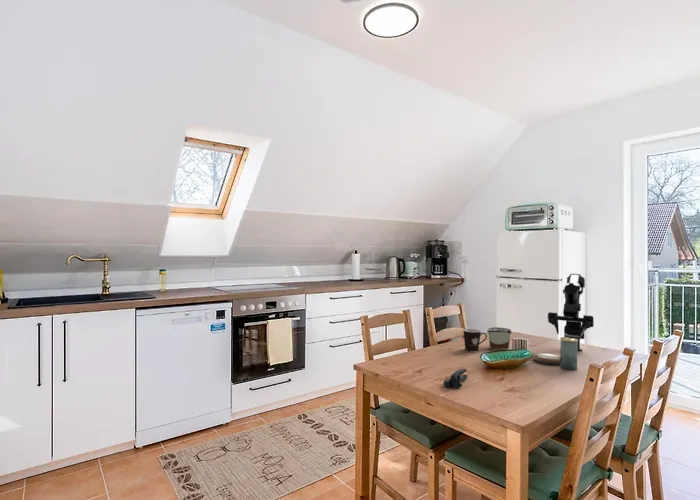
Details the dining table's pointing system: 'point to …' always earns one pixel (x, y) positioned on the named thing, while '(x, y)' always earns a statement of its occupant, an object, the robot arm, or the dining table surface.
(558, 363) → the turntable base
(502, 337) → the food container
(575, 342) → the tea tin
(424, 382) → the dining table surface
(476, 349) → the coffee mug
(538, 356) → the turntable
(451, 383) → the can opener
